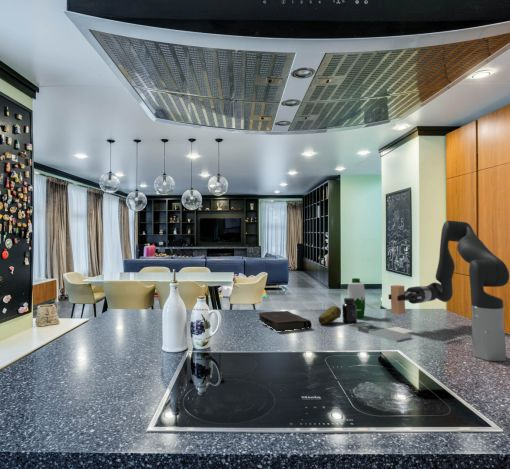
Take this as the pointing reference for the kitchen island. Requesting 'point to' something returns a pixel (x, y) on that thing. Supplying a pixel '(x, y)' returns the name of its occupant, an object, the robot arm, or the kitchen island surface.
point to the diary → (284, 320)
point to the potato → (330, 315)
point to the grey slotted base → (380, 332)
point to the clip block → (396, 305)
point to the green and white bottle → (357, 295)
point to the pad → (400, 329)
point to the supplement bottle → (349, 311)
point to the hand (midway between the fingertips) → (393, 297)
